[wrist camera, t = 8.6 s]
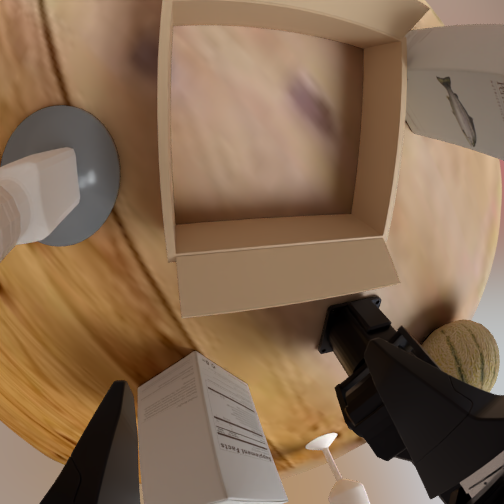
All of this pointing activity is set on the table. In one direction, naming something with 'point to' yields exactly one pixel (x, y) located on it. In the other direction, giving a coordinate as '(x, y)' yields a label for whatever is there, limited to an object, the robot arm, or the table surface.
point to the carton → (297, 227)
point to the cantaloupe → (465, 353)
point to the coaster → (87, 159)
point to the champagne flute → (339, 476)
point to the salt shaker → (36, 196)
